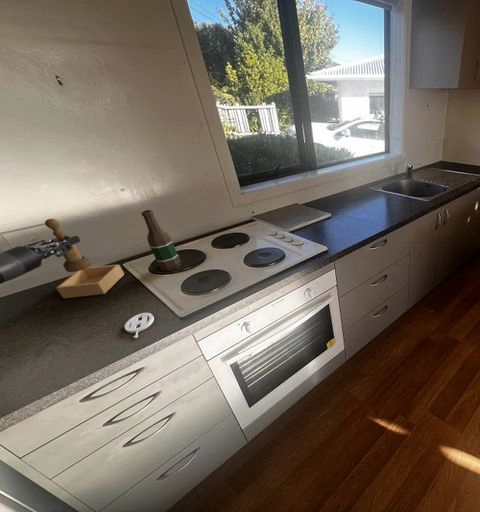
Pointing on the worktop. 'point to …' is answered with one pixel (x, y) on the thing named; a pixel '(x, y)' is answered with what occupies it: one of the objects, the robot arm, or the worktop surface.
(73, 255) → the mortar and pestle
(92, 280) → the wooden tray
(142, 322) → the pendant
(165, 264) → the beer bottle
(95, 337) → the worktop surface
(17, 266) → the robot arm
